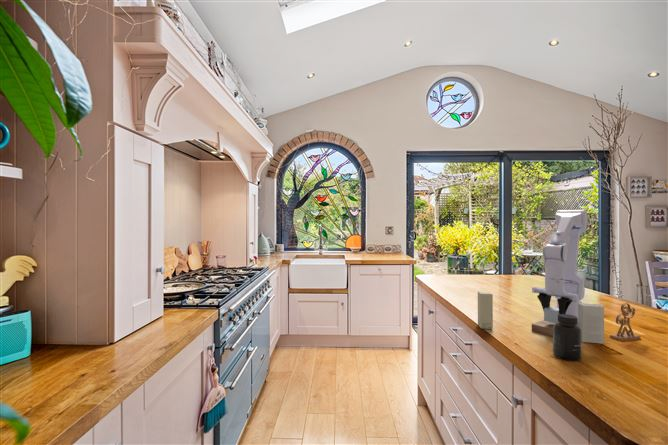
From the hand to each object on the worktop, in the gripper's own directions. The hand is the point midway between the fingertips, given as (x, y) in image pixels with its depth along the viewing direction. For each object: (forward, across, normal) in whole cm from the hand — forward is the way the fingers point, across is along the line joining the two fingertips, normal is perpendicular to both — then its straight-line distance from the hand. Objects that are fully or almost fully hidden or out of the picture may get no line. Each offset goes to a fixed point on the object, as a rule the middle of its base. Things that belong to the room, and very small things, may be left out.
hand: (554, 316), depth 119 cm
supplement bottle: (+6, +13, -19) cm, 24 cm away
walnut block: (+6, 0, 0) cm, 6 cm away
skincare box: (+6, +10, +2) cm, 12 cm away
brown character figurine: (+6, +15, +15) cm, 22 cm away
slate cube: (+2, 0, 0) cm, 2 cm away
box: (+6, -16, -16) cm, 23 cm away
